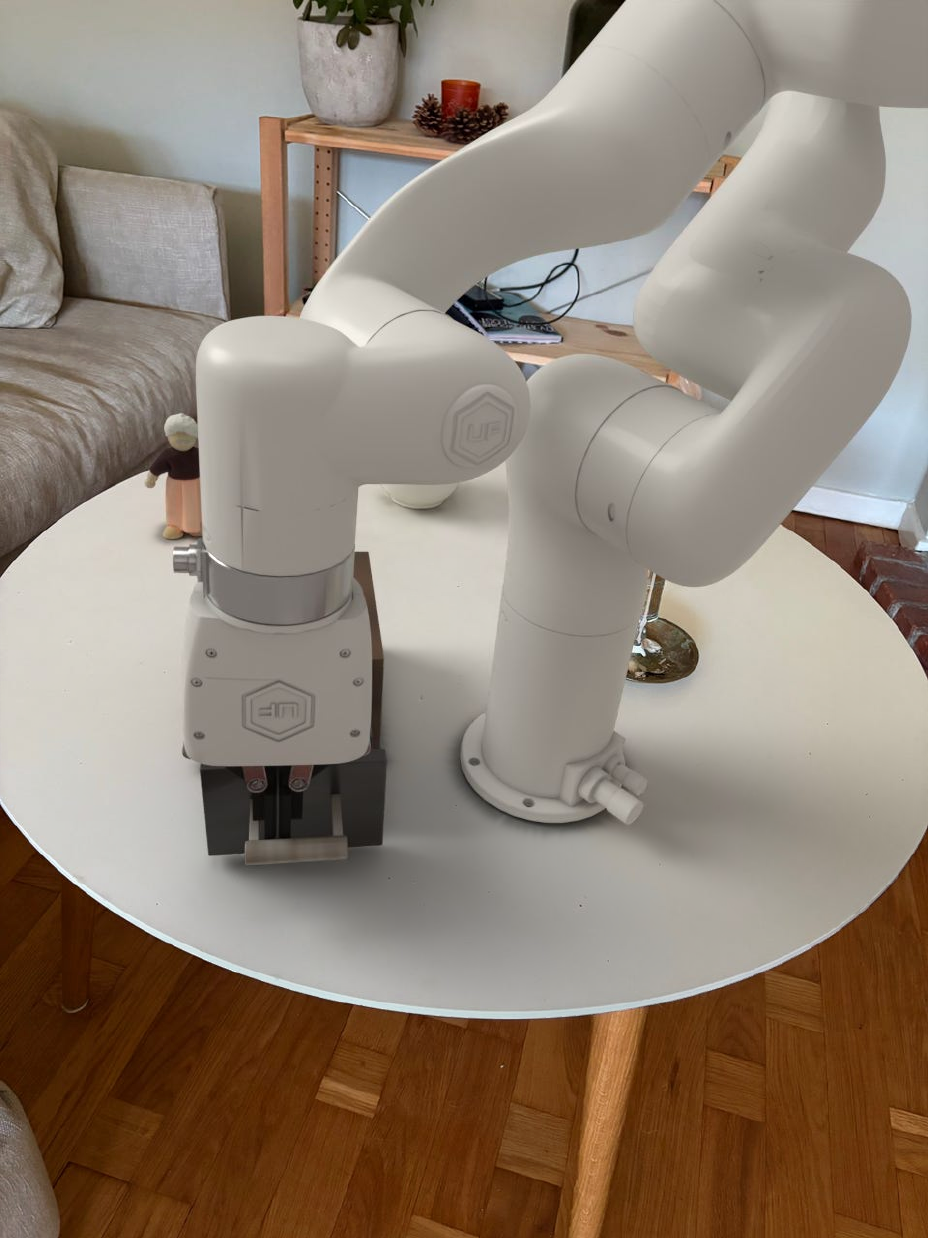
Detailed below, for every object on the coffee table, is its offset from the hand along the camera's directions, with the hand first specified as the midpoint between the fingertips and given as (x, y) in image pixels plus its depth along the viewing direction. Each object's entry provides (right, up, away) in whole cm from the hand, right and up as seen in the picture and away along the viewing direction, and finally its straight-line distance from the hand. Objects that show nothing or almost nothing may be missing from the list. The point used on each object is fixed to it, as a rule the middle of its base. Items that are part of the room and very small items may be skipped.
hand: (277, 823), depth 59 cm
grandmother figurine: (-16, +21, +39) cm, 47 cm away
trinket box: (+6, +26, +49) cm, 56 cm away
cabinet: (-2, +6, +18) cm, 19 cm away
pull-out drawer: (0, 0, +8) cm, 8 cm away
